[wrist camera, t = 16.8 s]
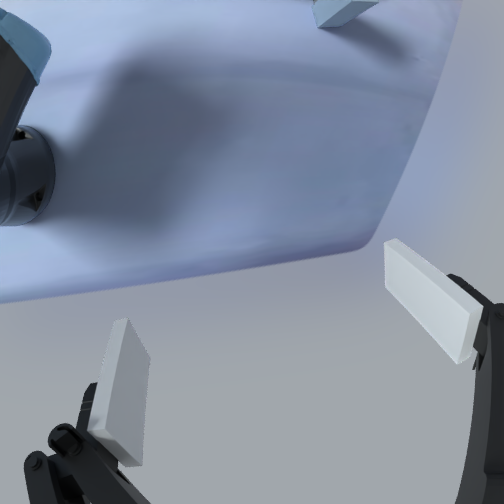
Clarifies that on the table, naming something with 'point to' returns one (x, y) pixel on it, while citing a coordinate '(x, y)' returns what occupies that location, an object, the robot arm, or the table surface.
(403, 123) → the table surface
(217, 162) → the table surface
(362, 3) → the block
